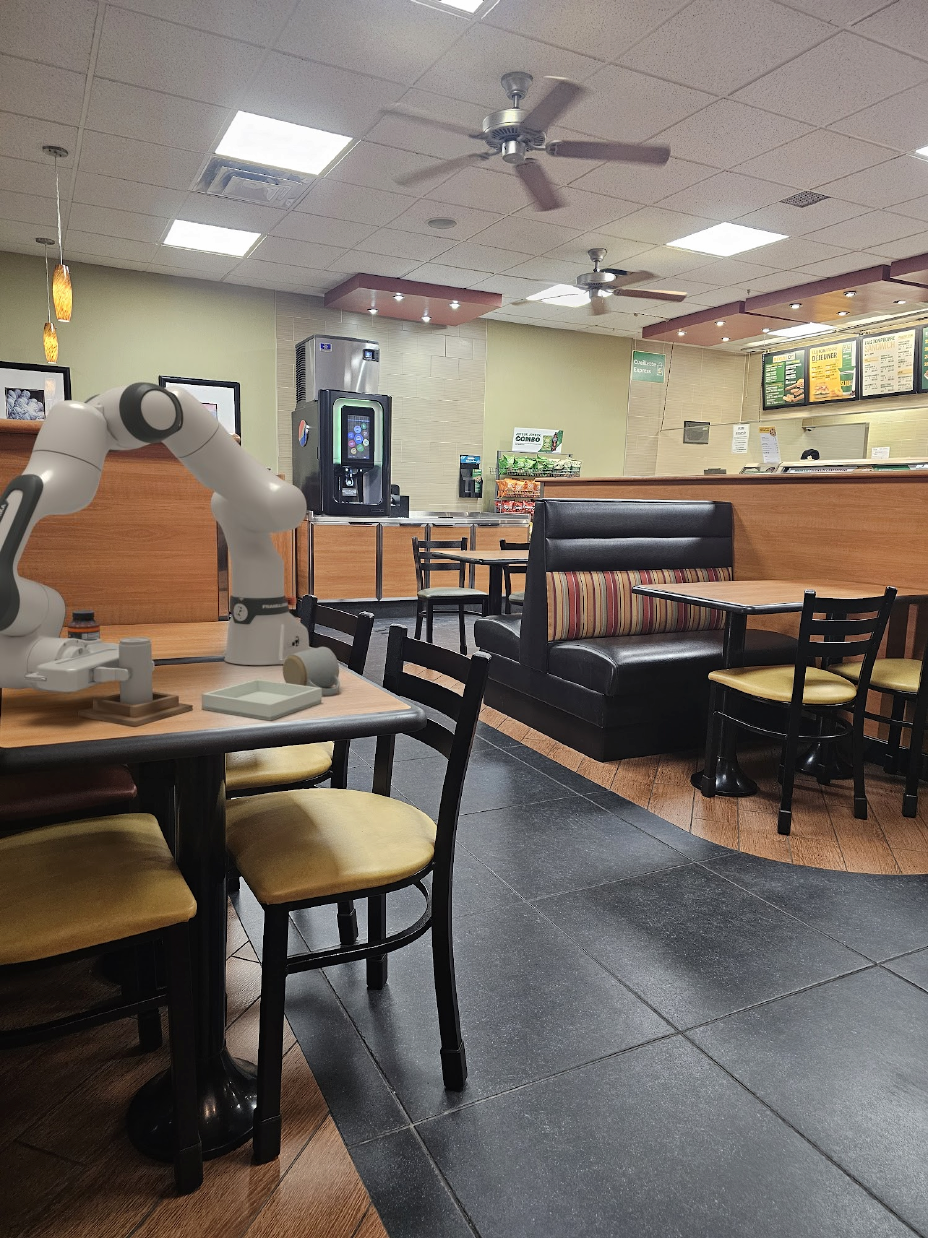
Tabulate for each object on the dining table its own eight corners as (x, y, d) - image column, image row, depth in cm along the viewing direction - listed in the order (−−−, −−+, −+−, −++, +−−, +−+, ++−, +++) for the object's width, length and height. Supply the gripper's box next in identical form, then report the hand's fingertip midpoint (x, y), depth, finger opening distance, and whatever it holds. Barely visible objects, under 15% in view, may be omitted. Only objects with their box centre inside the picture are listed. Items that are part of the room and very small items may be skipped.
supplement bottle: (62, 665, 161) (60, 610, 160) (90, 661, 166) (88, 608, 165) (78, 669, 158) (76, 613, 156) (106, 665, 163) (105, 611, 161)
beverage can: (141, 718, 124) (139, 642, 122) (113, 715, 125) (111, 640, 123) (159, 710, 128) (157, 638, 127) (132, 708, 129) (130, 636, 128)
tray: (257, 693, 143) (257, 679, 142) (321, 702, 137) (321, 688, 137) (201, 709, 130) (201, 694, 130) (270, 721, 124) (270, 704, 124)
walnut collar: (138, 700, 134) (138, 686, 134) (192, 709, 130) (192, 695, 129) (78, 716, 124) (77, 700, 123) (134, 726, 119) (134, 710, 118)
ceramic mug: (279, 689, 146) (279, 648, 145) (314, 682, 153) (315, 643, 151) (315, 700, 140) (316, 657, 138) (350, 693, 146) (351, 652, 145)
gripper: (15, 657, 117) (100, 662, 115) (100, 636, 137) (173, 641, 135) (17, 698, 118) (101, 705, 116) (101, 672, 138) (174, 677, 136)
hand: (140, 670), depth 126 cm, fingers open, 5 cm apart
